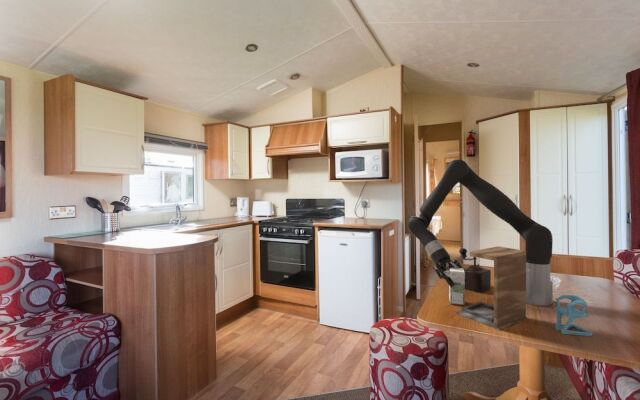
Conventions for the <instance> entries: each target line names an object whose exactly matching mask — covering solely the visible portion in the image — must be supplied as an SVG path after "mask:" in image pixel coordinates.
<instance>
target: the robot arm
mask: <svg viewBox="0 0 640 400" xmlns="http://www.w3.org/2000/svg"><path fill="white" fill-rule="evenodd" d="M458 183H459V184H461V185H462V186H463V187H465V188H466V189H467V190H468V191H469V192H470V193H471V194H472V196H473V197H474V198H475V199H476V200H478V202H480V204H481V205H483V206H484V208H486V209H487V210H488V211H490V212H491V213H492V214H494V215H495V216H497V217H498V218H499V219H501V220H502V221H504V222H505V223H507V224H509V225H510V226H511V227H512V228H513V229H514V231H516V233H518V234H519V235H520V236H521V237H522V239H523V240H524V241H525V249H524V251H526V304H530V305H532V306H539V307H547V306H550V305H553V302H554V301H553V291H554V289H553V287H554V286H553V281H552V280H551V259H552V256H553V234H552V232H551V230H550V229H549V228H548V227H547V226H544V225H542V224H540V223H538V222H537V221H535V220H533V219H532V218H530V217H529V216H528V215H526V214H525V213H524V212H523V211H522V210H521V209H520V208H519V207H518V206H517V205H516V204H515V203H514V201H513V200H512V199H511V198H510V197H509V196H508V195H507V194H505V193H504V192H503V191H501V190H500V189H499V188H497V186H494V184H491V183H490V182H488V181H487V180H485V179H483V178H482V177H480V176H479V175H478V174H477V173H476V172H475V171H474V170H473V169H472V168H471V167H470V166H469V165H468V162H466V161H465V160H463V159H459V158H458V159H457V158H456V159H453V160H451V161H449V163H447V166H446V168H445V171H444V172H443V175H442V177H441V178H440V181H439V182H438V183H437V184H436V186H435V187H434V189H433V190H432V192H431V193H430V194H429V195H428V196H427V198H426V199H425V200H424V202H423V203H422V204H421V205H420V208H419V211H420V215H419V216H411V217H410V218H408V219H407V227H408V229H409V231H410V232H411V233H412V234H413V235H414V236H415V238H416V239H417V240H419V242H420V243H421V245H422V247H423V248H424V249H425V251H426V253H427V254H428V256H429V258H430V259H431V260H432V262H433V264H434V266H432V268H433V270H434V271H435V273H436V274H437V277H438V278H439V279H443V280H444V281H446V283H447V285H448V287H449V286H450V287H452V286H454V285H455V284H454V282H453V281H452V279H451V278H450V277H449V271H450V268H464V267H463V266H462V265H461V263H460V262H459V261H458V259H455V260H454V261H453V260H452V259H451V255H450V253H449V252H448V251H447V249H446V248H445V247H444V245H443V243H441V242H440V241H439V240H438V238H437V236H435V234H434V233H433V232H432V231H430V230H429V229H428V228H429V227H430V224H431V223H432V220H433V217H434V216H435V214H436V213H437V212H438V211H439V209H440V207H441V206H442V204H443V203H444V201H445V200H446V198H447V197H448V195H449V194H450V192H451V191H452V190H453V189H454V187H455V186H457V184H458ZM463 270H464V269H463ZM464 271H465V270H464ZM466 282H467V279H466V277H465V283H466Z"/></svg>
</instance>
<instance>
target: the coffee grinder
mask: <svg viewBox="0 0 640 400" xmlns="http://www.w3.org/2000/svg"><path fill="white" fill-rule="evenodd" d="M467 253H468V250H467V249H466V248H465V247H464V248H460V249H459V254H460V255H461V256H460V257H461V258H462V261H473V264H471V265H469V266H466V267H463V269H464V270H465V271H464V272H465V277H466V279H467V282H466V283H465V290H466V291H469V292H473V293H478V294H482V293H485V292H487V291H490V290H492V287H491V284H492V283H491V274H492V271H491V269H488V268H485V267H482V266H480V264H479V263H477V258H478V257H474V256H472V257H473V258H472V257H471V258H468V255H467Z"/></svg>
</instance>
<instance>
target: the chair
mask: <svg viewBox="0 0 640 400" xmlns="http://www.w3.org/2000/svg"><path fill="white" fill-rule="evenodd" d="M564 299H568V300H569V301H571V302H569V303H566V305H567V306H566V307H565V306H563V307H562V305H561V302H560V301H561V300H564ZM555 300H556V303H557V306H554V311H556V321H555V330H556V331H560V333H561V334H564V335H565V334H566V335H574V336H575V335H576V336H584V337H593V333H592V332H590V331H588V330H587V329H585V328H583V327H581V326H580V325H577V324H576V323H573V322H574V321H576V320H578V319H580V318H589V313H586V308H587V305H588V303H587V301H585V299H584V298H583V297H580V296H578V295H569V294H565V295H560V296H558V297H556V298H555ZM576 305H577V306H578V305H580V306H583V307H582V308H581V310H580V309H578V308H576V307H575V306H576ZM563 315H564V316H565V317H568V319H567V321H566V323H565V324H563V325H562V317H563ZM570 328H575V329H577V330H570ZM578 330H579V331H578Z"/></svg>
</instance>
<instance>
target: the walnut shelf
mask: <svg viewBox="0 0 640 400" xmlns="http://www.w3.org/2000/svg"><path fill="white" fill-rule="evenodd" d="M469 256H470V257H473V256H474V257H476V258H479V259H484V260H490V261H493V304H489V303H486V302H482V301H478V302H476V303H474V304H473V303H471V304H470V305H467V306H463V307H461V309H460V310H457V311H455V314H458V315H460V316H462V317H464V318H468V319H470V320H473V321H475V322H478V323H480V324H482V325H486V326H488V327H490V328H493V329H495V330H498V331H499V330H501V329H503V328H506V327H508V326H510V325H513V324H516V323H519V322H520V321H521V322H522V321H523V320H525V319H527V316H526V314H527V302H526V251H525V249H519V248H511V247H504V246H500V245H499V246H493V247H489V248H482V249H477V250H473V251H469ZM474 257H473V258H474Z"/></svg>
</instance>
